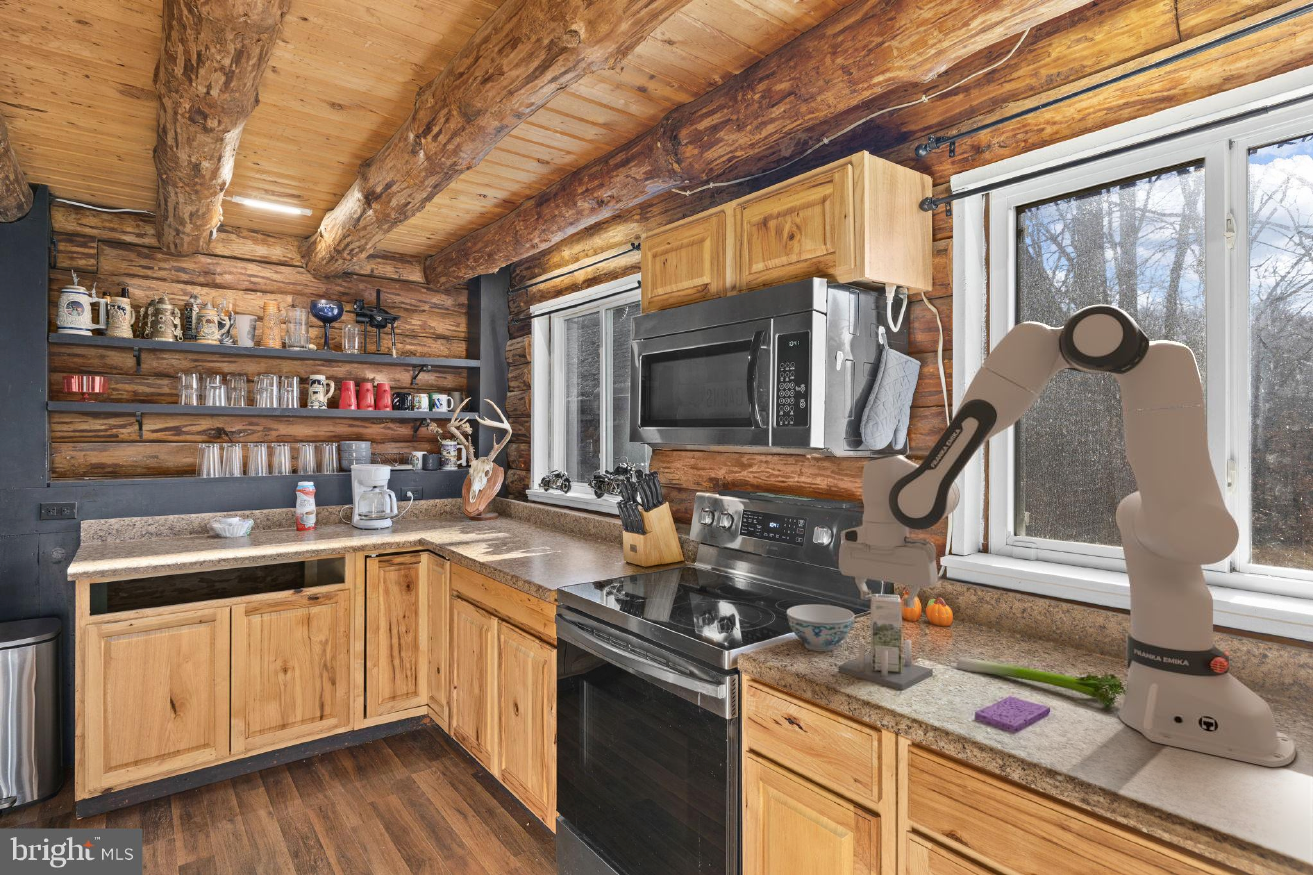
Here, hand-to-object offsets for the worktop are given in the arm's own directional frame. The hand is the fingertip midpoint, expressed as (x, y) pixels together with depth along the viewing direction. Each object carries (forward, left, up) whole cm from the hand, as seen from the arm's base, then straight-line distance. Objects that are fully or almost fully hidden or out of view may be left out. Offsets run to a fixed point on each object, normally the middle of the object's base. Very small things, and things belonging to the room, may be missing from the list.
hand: (887, 602), depth 141 cm
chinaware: (+19, -5, -15) cm, 25 cm away
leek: (-23, -14, -15) cm, 31 cm away
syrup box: (0, 0, -13) cm, 13 cm away
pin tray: (0, 0, -14) cm, 14 cm away
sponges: (-25, +3, -15) cm, 30 cm away
